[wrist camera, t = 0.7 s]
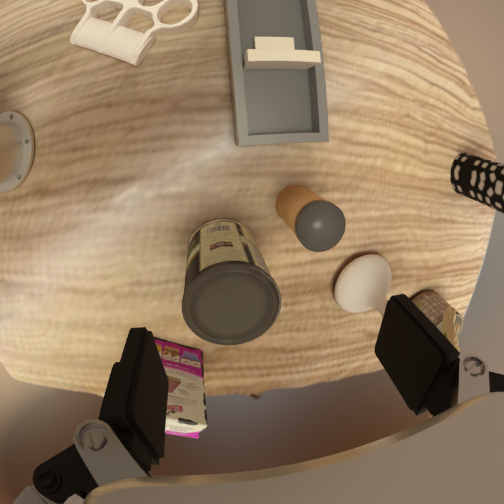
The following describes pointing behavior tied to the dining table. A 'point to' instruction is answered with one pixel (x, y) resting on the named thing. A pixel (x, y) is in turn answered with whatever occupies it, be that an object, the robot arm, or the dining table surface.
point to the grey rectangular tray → (275, 74)
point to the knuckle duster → (125, 39)
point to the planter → (436, 309)
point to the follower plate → (278, 55)
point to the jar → (311, 218)
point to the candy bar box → (184, 389)
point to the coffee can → (228, 285)
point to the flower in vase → (377, 291)
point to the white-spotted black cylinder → (479, 180)
